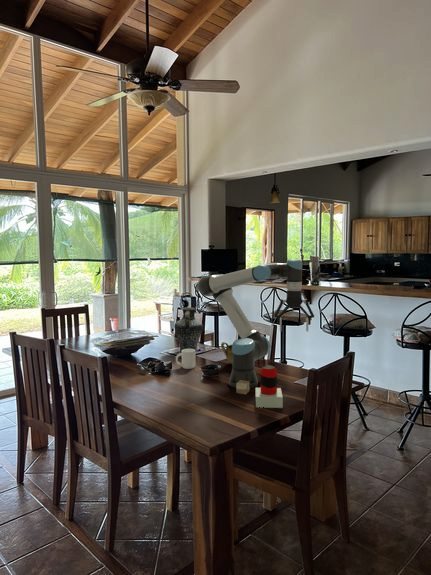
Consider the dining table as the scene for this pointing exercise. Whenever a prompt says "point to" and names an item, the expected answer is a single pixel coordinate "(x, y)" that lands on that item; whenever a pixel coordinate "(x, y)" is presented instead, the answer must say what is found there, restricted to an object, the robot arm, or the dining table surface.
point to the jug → (188, 329)
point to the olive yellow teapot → (227, 351)
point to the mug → (187, 358)
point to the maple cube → (242, 387)
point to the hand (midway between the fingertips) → (293, 331)
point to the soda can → (268, 380)
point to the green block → (269, 399)
